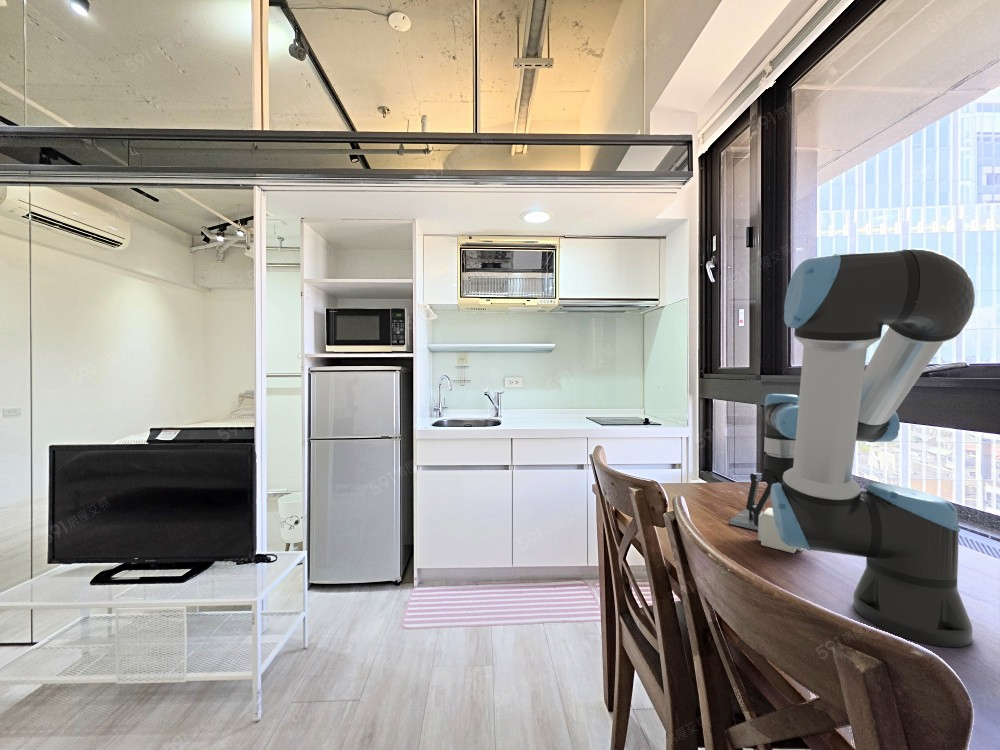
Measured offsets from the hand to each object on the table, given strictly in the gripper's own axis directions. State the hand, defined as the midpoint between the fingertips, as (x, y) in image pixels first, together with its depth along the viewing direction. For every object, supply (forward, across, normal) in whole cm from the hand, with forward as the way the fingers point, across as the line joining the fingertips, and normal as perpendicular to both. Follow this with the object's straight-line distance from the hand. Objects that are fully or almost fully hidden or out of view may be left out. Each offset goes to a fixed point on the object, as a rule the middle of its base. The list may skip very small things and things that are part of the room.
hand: (780, 543), depth 108 cm
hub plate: (0, +7, -14) cm, 16 cm away
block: (0, 0, 0) cm, 0 cm away
